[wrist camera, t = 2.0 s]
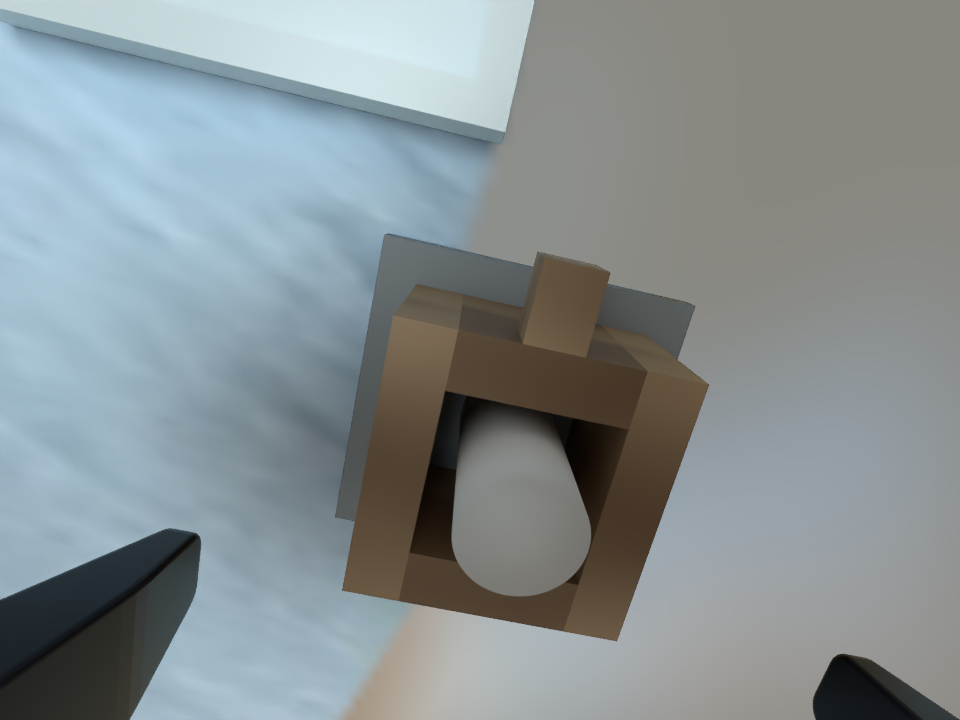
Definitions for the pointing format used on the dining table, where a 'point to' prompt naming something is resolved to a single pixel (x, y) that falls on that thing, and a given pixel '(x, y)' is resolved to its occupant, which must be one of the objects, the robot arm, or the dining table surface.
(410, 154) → the dining table surface
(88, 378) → the dining table surface
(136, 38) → the tray
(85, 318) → the dining table surface
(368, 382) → the post base
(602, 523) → the open wooden frame
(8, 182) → the dining table surface
